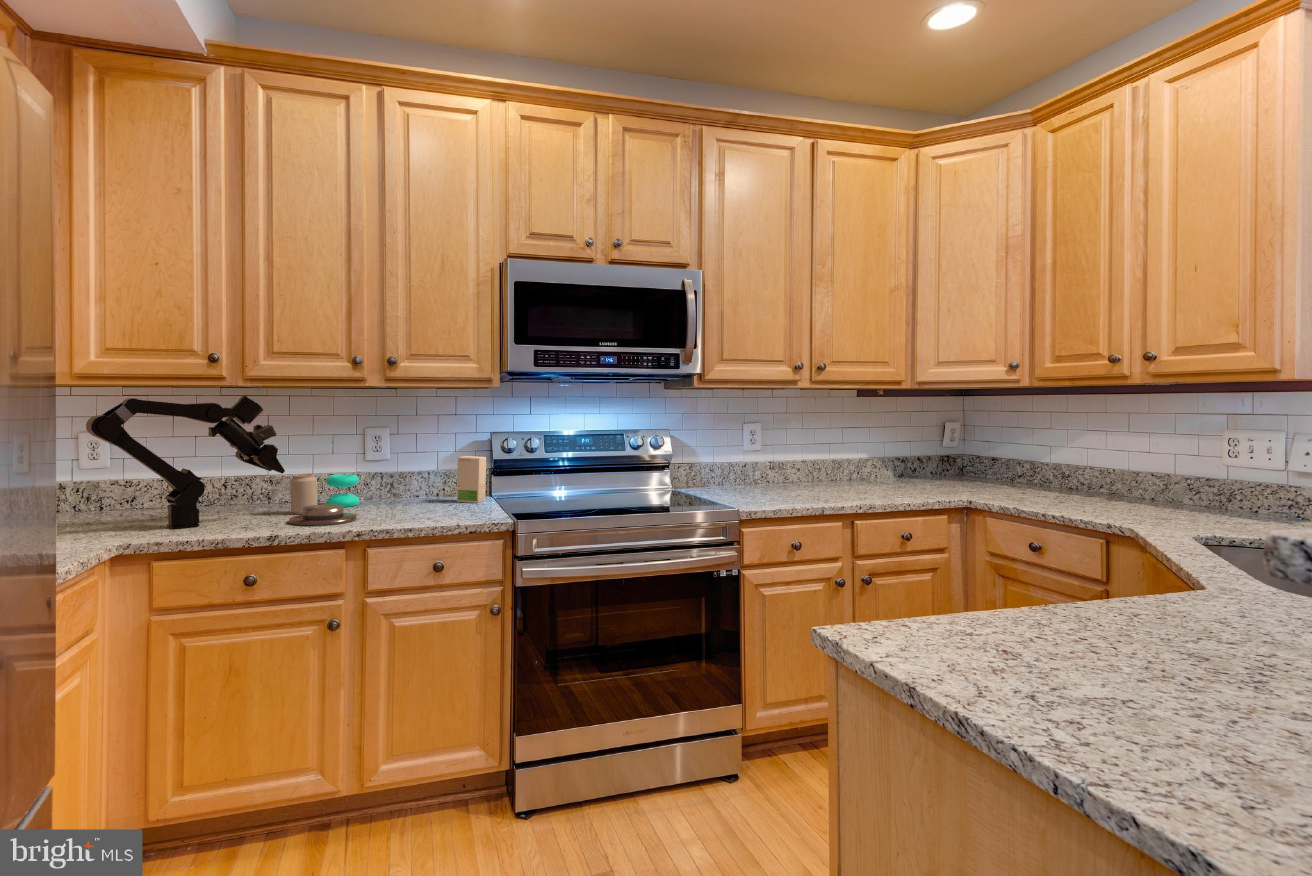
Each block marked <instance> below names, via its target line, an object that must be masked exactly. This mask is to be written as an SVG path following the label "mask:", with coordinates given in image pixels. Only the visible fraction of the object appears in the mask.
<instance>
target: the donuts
mask: <svg viewBox="0 0 1312 876" xmlns="http://www.w3.org/2000/svg"><path fill="white" fill-rule="evenodd" d="M325 482H326V484H327V485H328V486H329V487H332V488H350V487H353V486H356V485H357V484H358V483H359V482H360V478H359V476H358V475H355V474H349V473H348V474H347V473H345V474H344V473H343V474H332V475H329V476H327V477H326V479H325ZM326 504H338V505H343V507H344V508H350V507H355V506H357V505H358V504H360V498H359V497H358V496H357V495H355V494H352V493H340V494H339V493H338V494H333V495H330V496H329V497H328V498H327V499H326Z"/></svg>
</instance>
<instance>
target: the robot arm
mask: <svg viewBox="0 0 1312 876" xmlns="http://www.w3.org/2000/svg"><path fill="white" fill-rule="evenodd" d="M262 412H264V408H263V407H262V406H261V405H260V404H259V403H258V402H256V401H254V400H253V399H251V398H249V397H248V396H247V395H242V396H241V397H239V399H238V401H236V402H235V403H234V404H233V405H232V406H231V407H226V406H225V407H222V406H221V404H219V403H216V402H194V403H175V402H168V401H167V402H164V401H158V400H157V401H156V400H155V401H154V400H144V399H138V398H133V397H132V398H130V397H129V398H125V399H124V400H122V402H120V403H119V404H117V405H115V406H114V407H112V408H111V409H109V410H107V411H105V412H104V413H102V414H100V415H99V414H97V415H96V414H95V415H93V416H91V417H90V418H88V419H87V421H86V422H85V423H86V424H85V429H86V431H87V433H88V434H89V435H91V436H92V437H95V438H97V439H99V440H100V441H104V442H105V443H108V444H110V445H112V446H115V447H117V448H119V449H120V450H122V451H123V452H124V453H125V454H127V455H129V456H130V457H132V459H134V460H136V461H137V462H139V463H140V464H141V465H142V466H145V467H146V468H147V469H148V470H150V471H152V472H153V473H154V474H156V475H158V476H159V477H160V478H162V479H163V480H164V481H165V482H166V484H167V485H168V486H169V487H170V488H171V489H172V490H171V491H169V493H168V494H167V495H166V496H165V500H166V502H167V517H168V518H167V519H168V520H167V521H168V523H166V524H165V525H166V527H167V528H170V529H171V530H174V529H183V528H184V529H185V528H192V527H193V528H194V527H199V526H200V508H199V507H197V506H198V505H197V504H198V502H199V499H200V498H201V497H203V495H204V493H205V492H206V491H205V490H206V488H205V483H204V482H203V481H202V480H203V478H201V477H199V476H197V475H196V474H195V473H194V472H193V471H192V470H191V469H188V468H181V470H178V469H176V468H175V467H174V466H173V465H172V464H169V463H168V462H167V461H166V460H164V459H163V458H161V457H160V456H159V455H157V454H156V453H154V452H153V451H151V450H150V449H148V448H147V447H146V446H144V445H143V444H142V443H140V442H139V441H137V440H136V439H135V438H133V437H132V436H131V435H130V434H129V432H127V430H126V429H125V428H124V427H123V425H124V424H126V423H127V421H129V420H130V419H132V417H133V416H135V415H136V414H146V415H158V416H170V417H182V418H185V419H189V420H193V421H197V422H202V423H205V424H215V425H214V426H208V427H207V429H208V434H207V435H208V437H212V438H213V437H216V436H217V435H219V436H220V437H221V438H222V439H224V440H225V441H226V442H227V443H228V444H229V446H230V447H231V448H232V449H235V450H237V451H236V452H235V458H236V459H238V460H239V461H240V462H243V463H245V464H247V465H251V466H254V467H257V468H260V469H262V470H265V471H268V472H272V471H275V472H277V473H278V474H284V473H285V472H286V471H285V470H286V469H285V468H284V466H283V465H282V464H281V462H280V460H279V459H278V458H277V457H278V456H277V455H278V452H279V448H278V447H277V446H276V445H274V444H271V443H269V444H268V443H267V444H265V441H266V440H268V439H270V438H275V437H276V436H277V435H278V433H277V432H276V429H275V428H274V425H270V424H266V425H262V424H256V425H253V429H252V431H248V430H246V429H245V428H244V427H243V425H245V424H247V425H251V423H252V422H253V421H254V420H256V418H257V417H258V416H259V415H260V414H262ZM224 418H225V419H224ZM223 419H224V420H223ZM240 424H241V425H240Z"/></svg>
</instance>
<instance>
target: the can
mask: <svg viewBox="0 0 1312 876" xmlns="http://www.w3.org/2000/svg"><path fill="white" fill-rule="evenodd" d="M289 484H290V485H289V488H290V489H289V490H290V511H291V512H292V514H293V515H302V508H303V507H306V506H311V505H318V479H317V478H316V477H315V474H314V473H298V474H297V473H296V474H293V475H292V478H291V479H290V480H289Z"/></svg>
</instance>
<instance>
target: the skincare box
mask: <svg viewBox="0 0 1312 876" xmlns="http://www.w3.org/2000/svg"><path fill="white" fill-rule="evenodd" d="M456 467H457V468H456V469H457V470H456V471H457V475H456V502H457V503H468V504H469V503H471V504H479V503H482V501H483V502H485V501H486V484H487V483H486V482H487V481H486V480H487V477H486V476H487V457H486V456H476V455H475V456H474V455H473V456H472V455H462V456H457V466H456Z"/></svg>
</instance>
